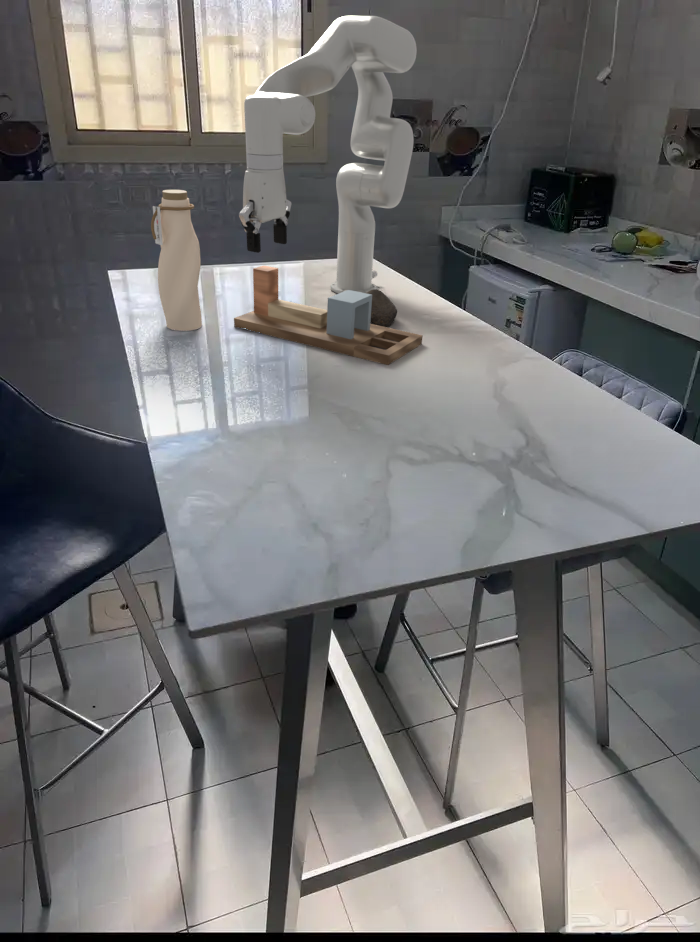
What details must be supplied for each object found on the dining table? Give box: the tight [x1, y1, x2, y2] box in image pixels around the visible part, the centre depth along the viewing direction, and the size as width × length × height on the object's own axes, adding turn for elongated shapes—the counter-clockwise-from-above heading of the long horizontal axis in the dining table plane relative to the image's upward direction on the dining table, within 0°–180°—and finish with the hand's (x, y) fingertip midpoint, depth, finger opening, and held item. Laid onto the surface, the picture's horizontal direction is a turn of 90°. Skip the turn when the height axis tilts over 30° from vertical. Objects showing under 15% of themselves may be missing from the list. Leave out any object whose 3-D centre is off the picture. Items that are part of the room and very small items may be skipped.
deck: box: [233, 310, 423, 366], centre depth 151 cm, size 16×39×2 cm, turn 60°
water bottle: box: [150, 189, 203, 332], centre depth 145 cm, size 10×9×28 cm
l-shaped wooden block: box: [252, 265, 327, 328], centre depth 152 cm, size 4×18×10 cm, turn 60°
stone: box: [366, 288, 398, 328], centre depth 162 cm, size 10×8×10 cm
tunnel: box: [326, 290, 372, 339], centre depth 146 cm, size 8×6×8 cm
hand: (267, 247), depth 151 cm, fingers open, 9 cm apart
